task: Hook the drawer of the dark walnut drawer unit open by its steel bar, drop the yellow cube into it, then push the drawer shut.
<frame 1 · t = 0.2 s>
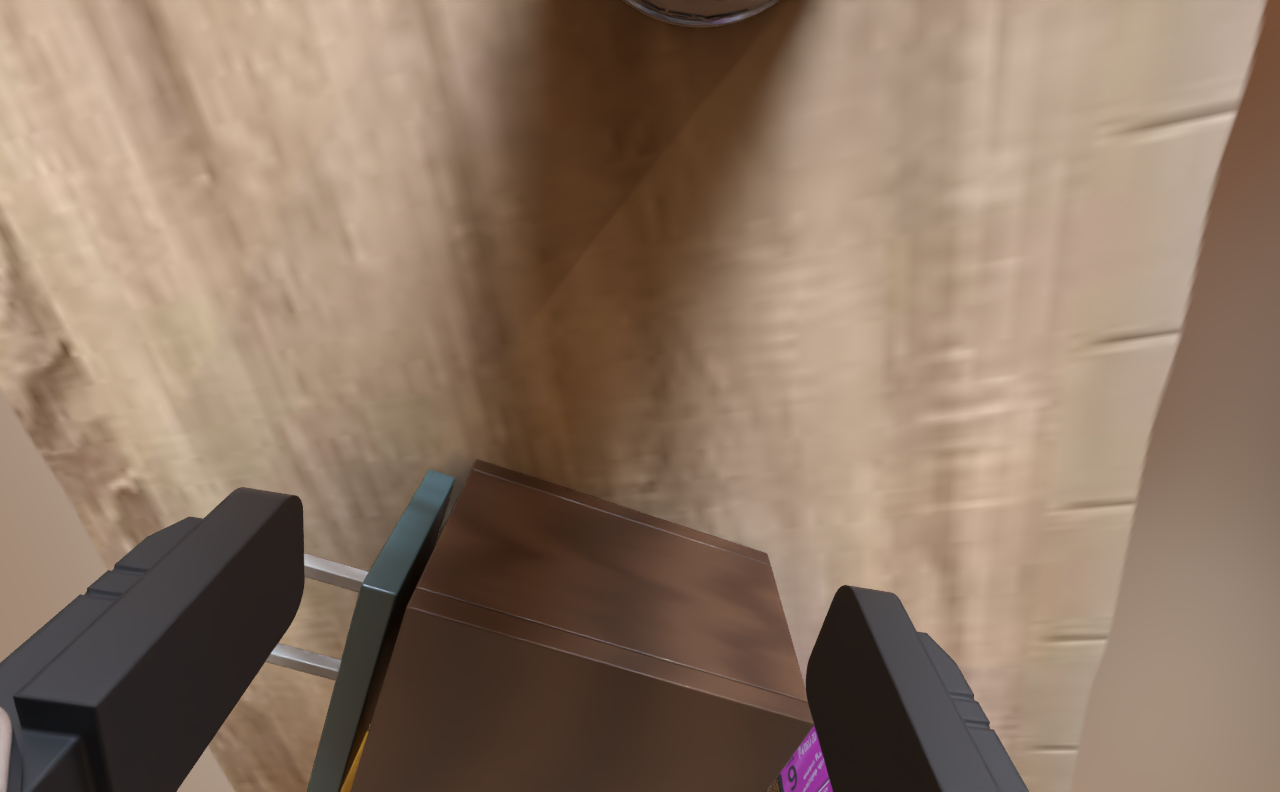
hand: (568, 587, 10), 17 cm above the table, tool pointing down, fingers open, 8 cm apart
cabinet: (583, 604, 32), on the table
candy bar box: (857, 715, 35), on the table
drawer: (462, 649, 27), point 5 cm above the table, slide at 0.5 cm
yellow cube: (372, 764, 37), on the table
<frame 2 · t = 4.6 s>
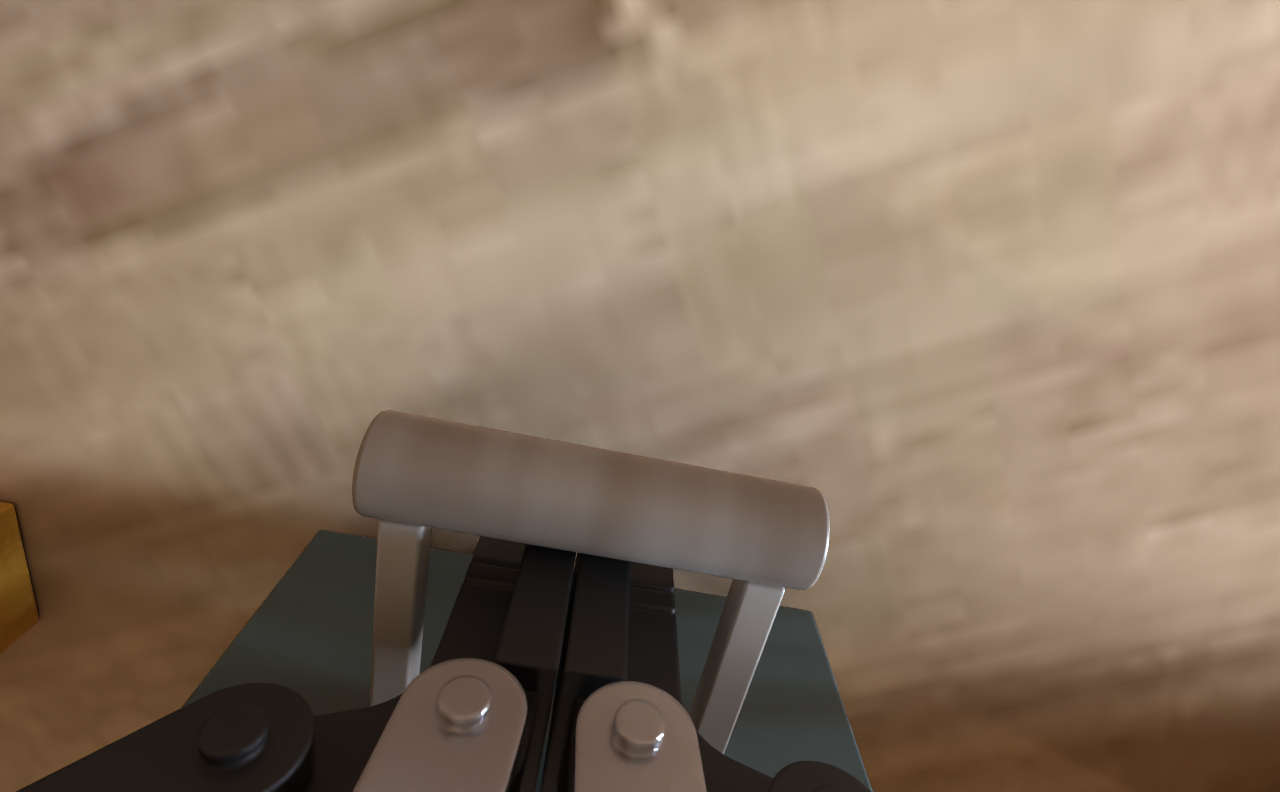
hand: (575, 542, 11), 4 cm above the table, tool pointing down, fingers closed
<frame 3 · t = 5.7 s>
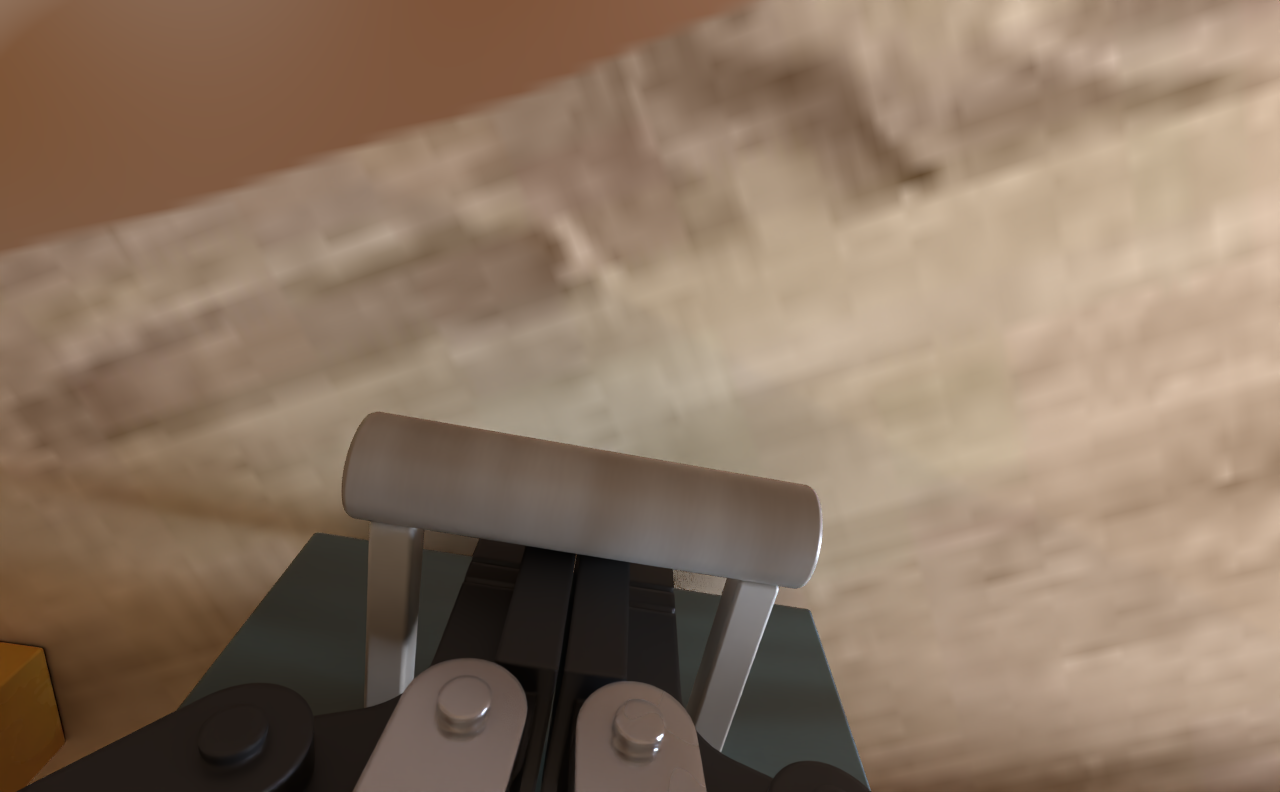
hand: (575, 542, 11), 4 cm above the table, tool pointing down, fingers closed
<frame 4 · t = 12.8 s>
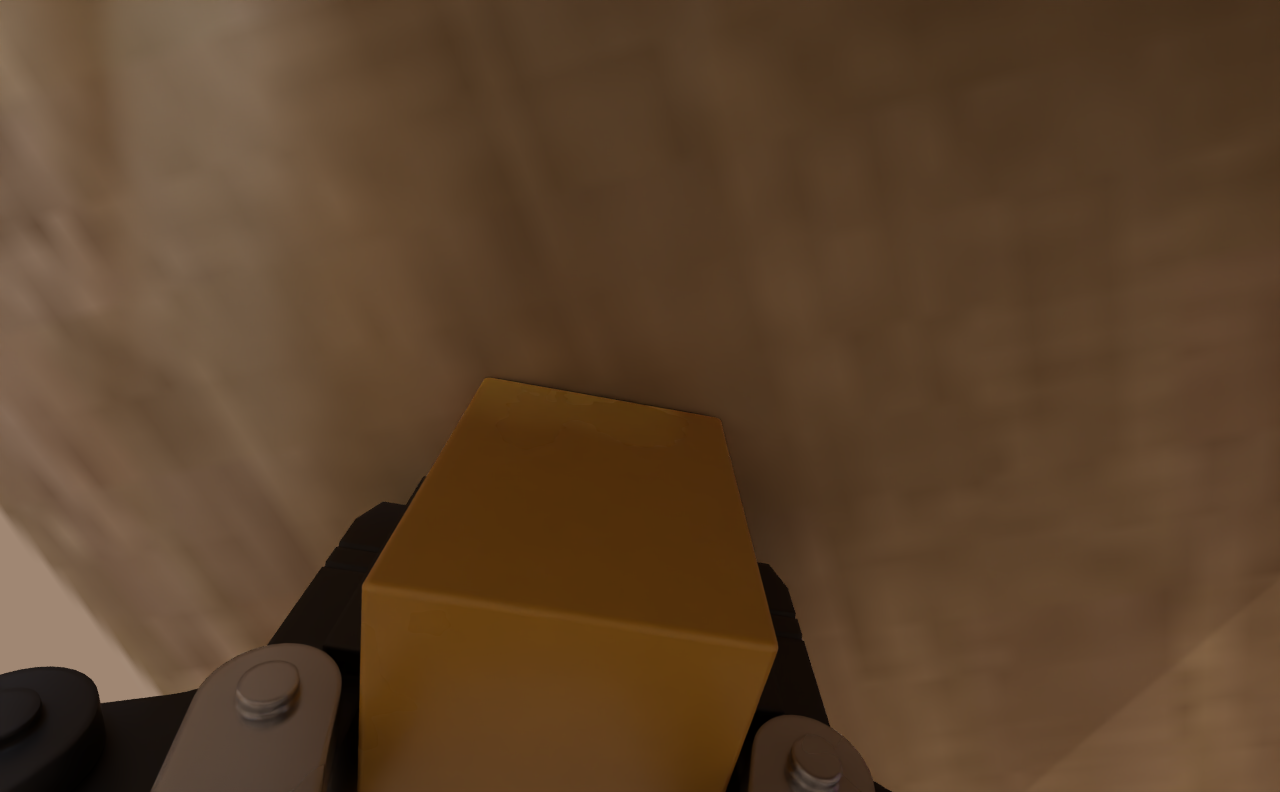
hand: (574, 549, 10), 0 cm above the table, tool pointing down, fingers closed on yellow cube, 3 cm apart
yellow cube: (577, 541, 11), on the table, touching gripper
when the fingers open (10 cm above the table, at t = 23.1 s): yellow cube drops 7 cm, resting on drawer.
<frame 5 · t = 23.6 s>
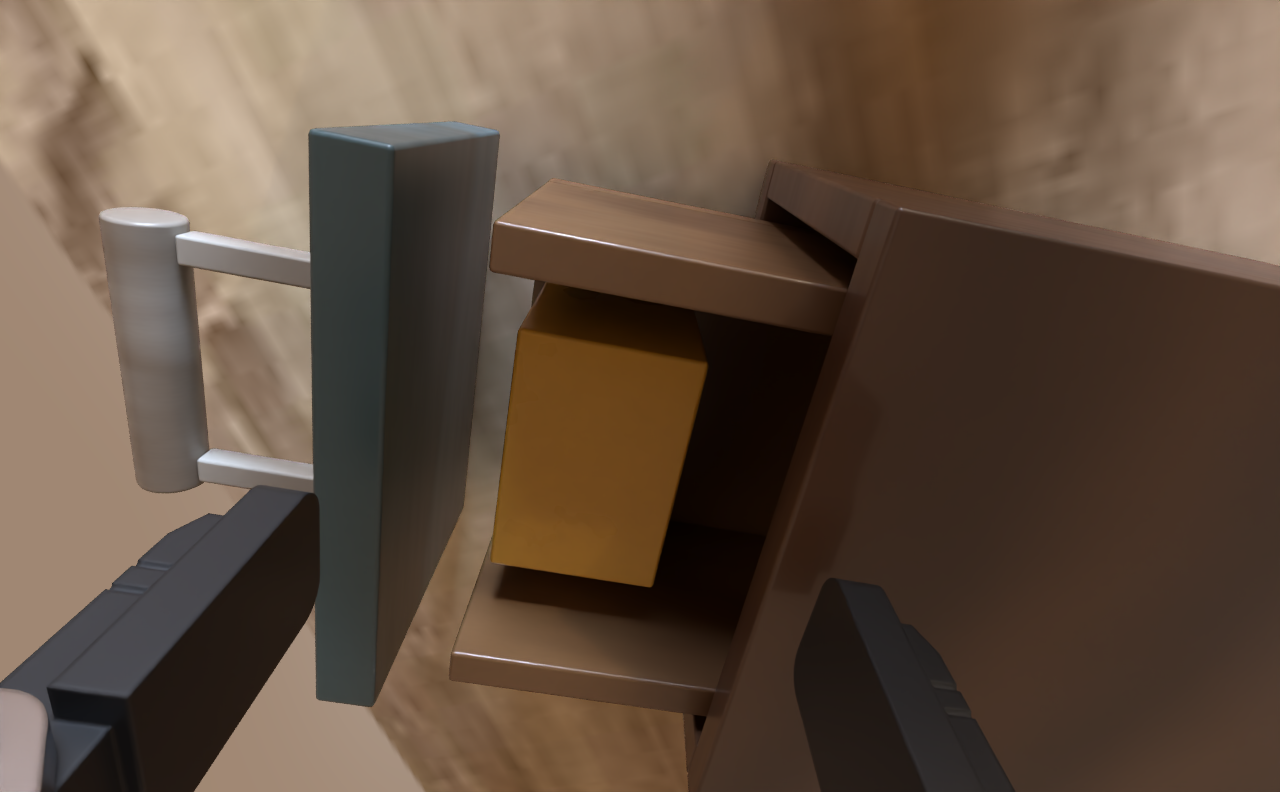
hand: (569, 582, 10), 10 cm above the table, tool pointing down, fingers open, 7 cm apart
cabinet: (939, 414, 20), on the table
drawer: (561, 417, 15), point 5 cm above the table, slide at 6.8 cm, touching yellow cube
yellow cube: (603, 382, 17), point 2 cm above the table, touching drawer
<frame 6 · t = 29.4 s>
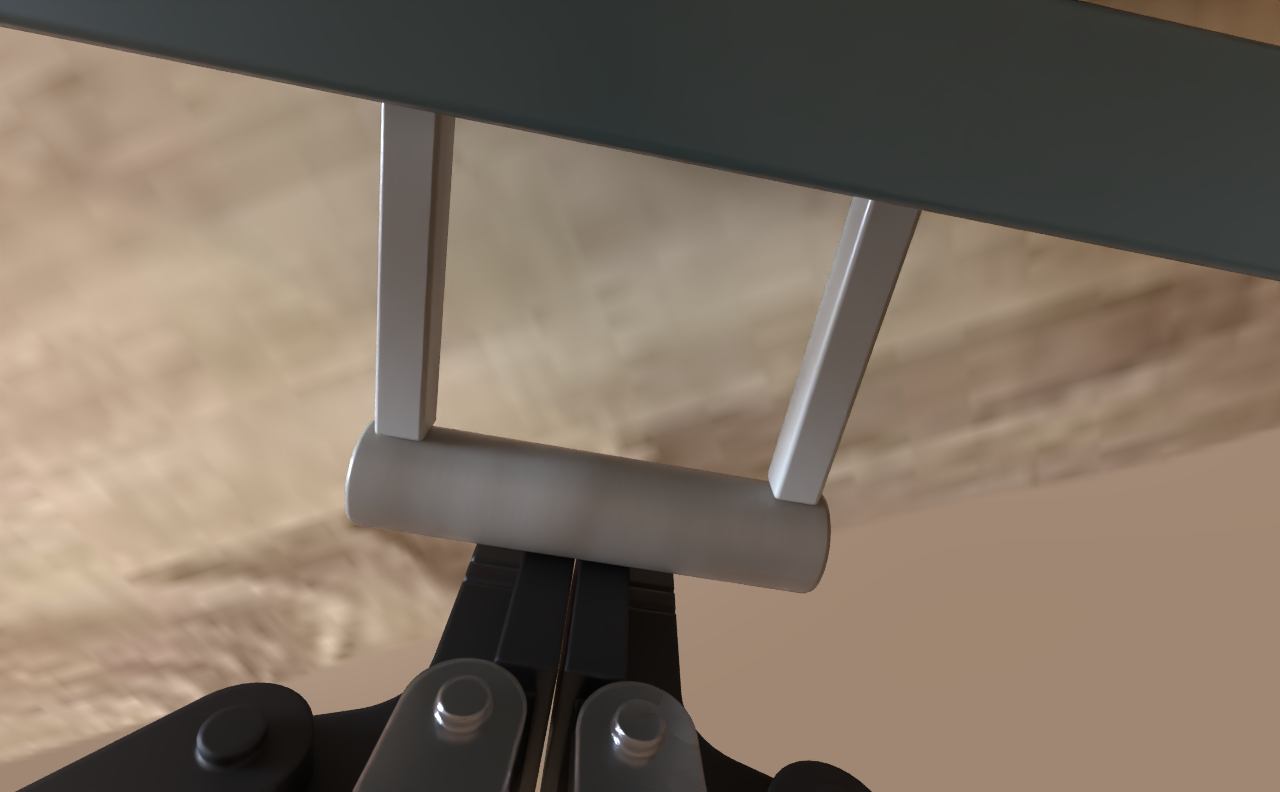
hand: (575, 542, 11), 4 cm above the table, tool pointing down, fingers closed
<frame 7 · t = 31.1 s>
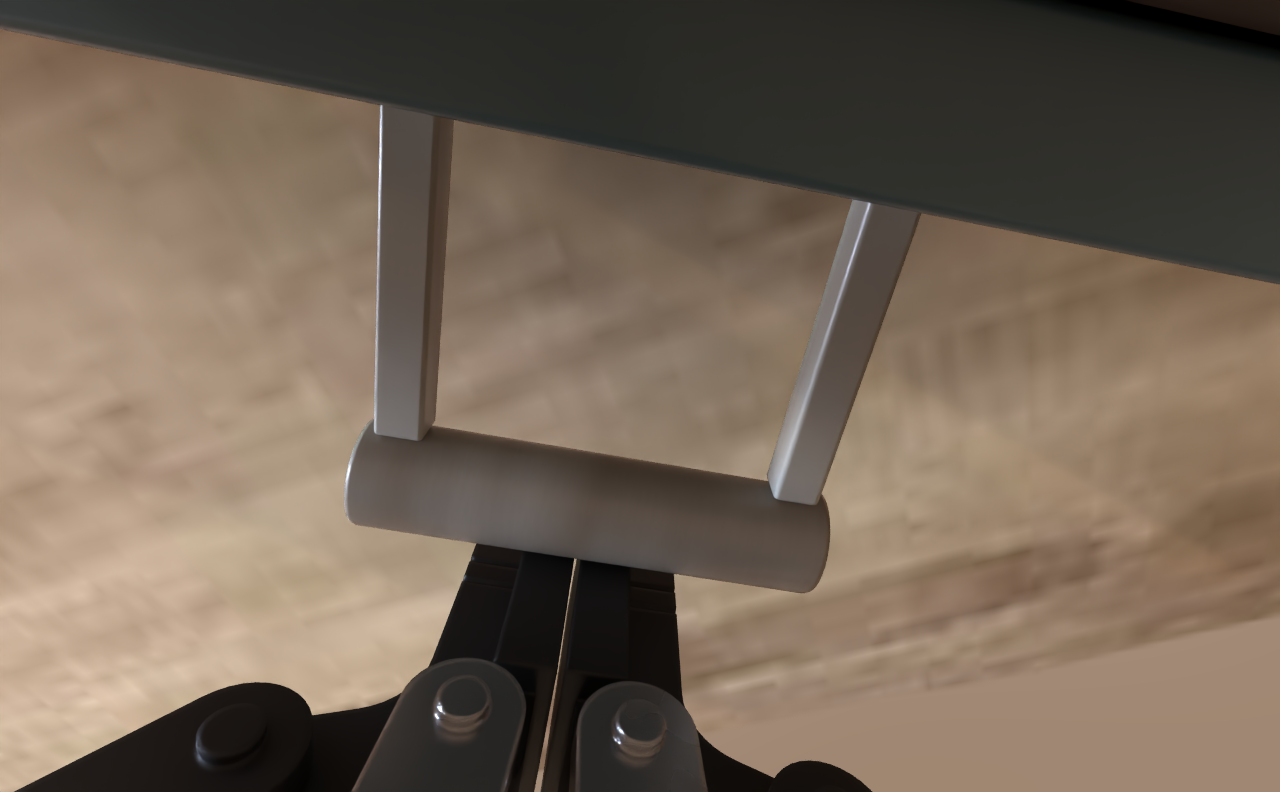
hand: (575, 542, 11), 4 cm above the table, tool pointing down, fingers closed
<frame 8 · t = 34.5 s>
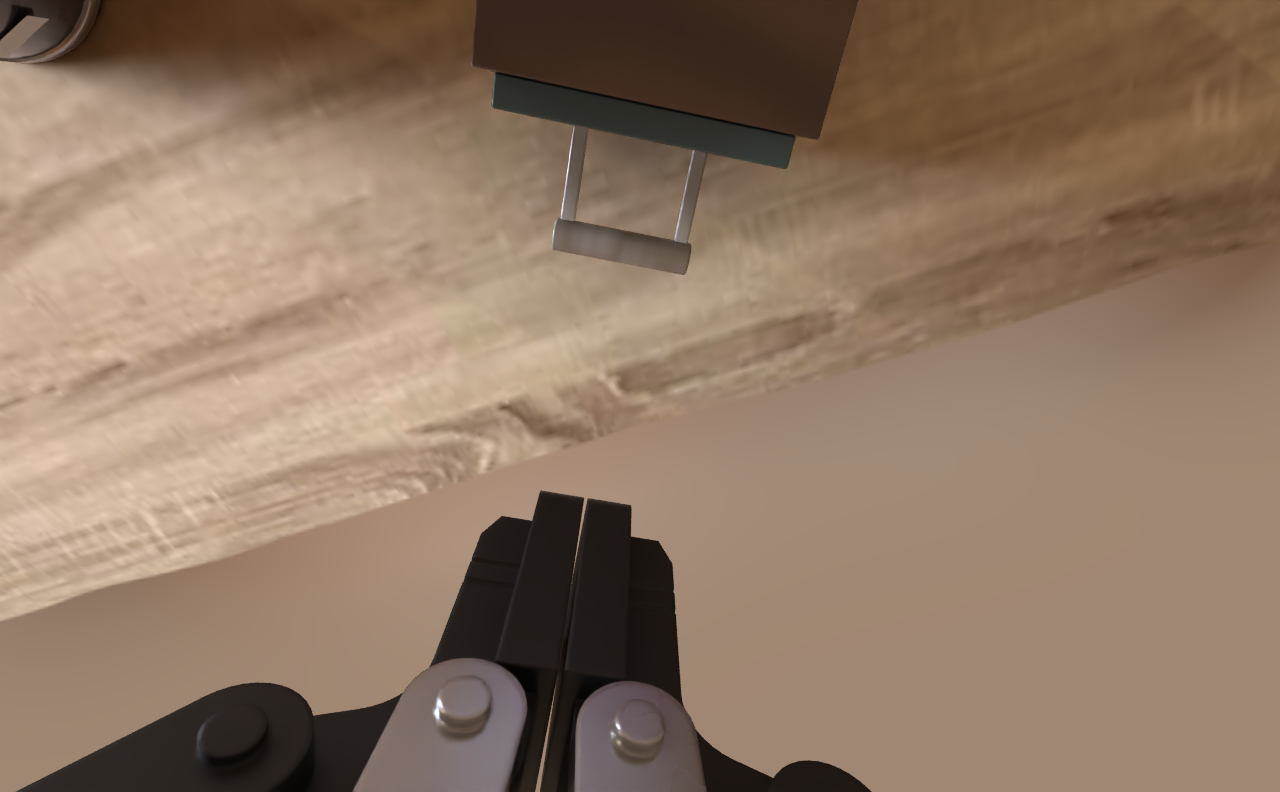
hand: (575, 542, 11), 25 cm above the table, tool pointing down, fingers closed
drawer: (660, 31, 25), point 5 cm above the table, slide at 0.0 cm, touching yellow cube
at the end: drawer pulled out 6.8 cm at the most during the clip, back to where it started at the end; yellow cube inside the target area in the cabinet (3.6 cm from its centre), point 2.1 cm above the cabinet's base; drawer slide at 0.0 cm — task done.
